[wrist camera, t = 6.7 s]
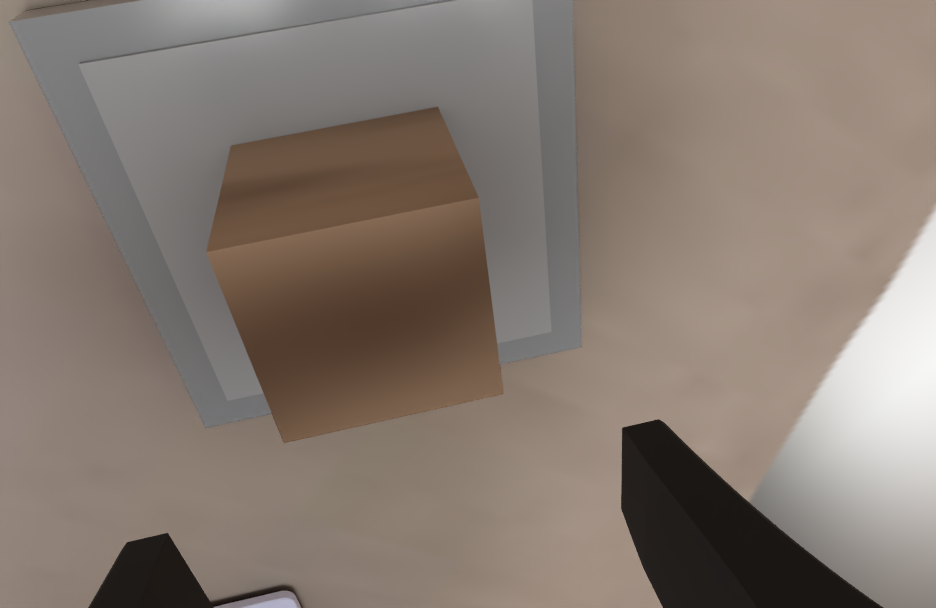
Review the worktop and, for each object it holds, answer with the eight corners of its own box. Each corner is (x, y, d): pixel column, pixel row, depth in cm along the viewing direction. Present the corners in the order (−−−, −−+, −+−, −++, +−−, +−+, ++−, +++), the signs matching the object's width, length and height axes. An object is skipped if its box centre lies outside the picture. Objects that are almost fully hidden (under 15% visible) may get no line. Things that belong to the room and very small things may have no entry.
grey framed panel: (572, 328, 23) (583, 349, 22) (209, 405, 22) (205, 431, 21) (557, -76, 16) (572, -70, 15) (24, 11, 15) (6, 23, 14)
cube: (463, 276, 20) (503, 394, 16) (288, 313, 19) (283, 443, 15) (437, 106, 17) (478, 197, 13) (230, 145, 16) (206, 251, 12)
